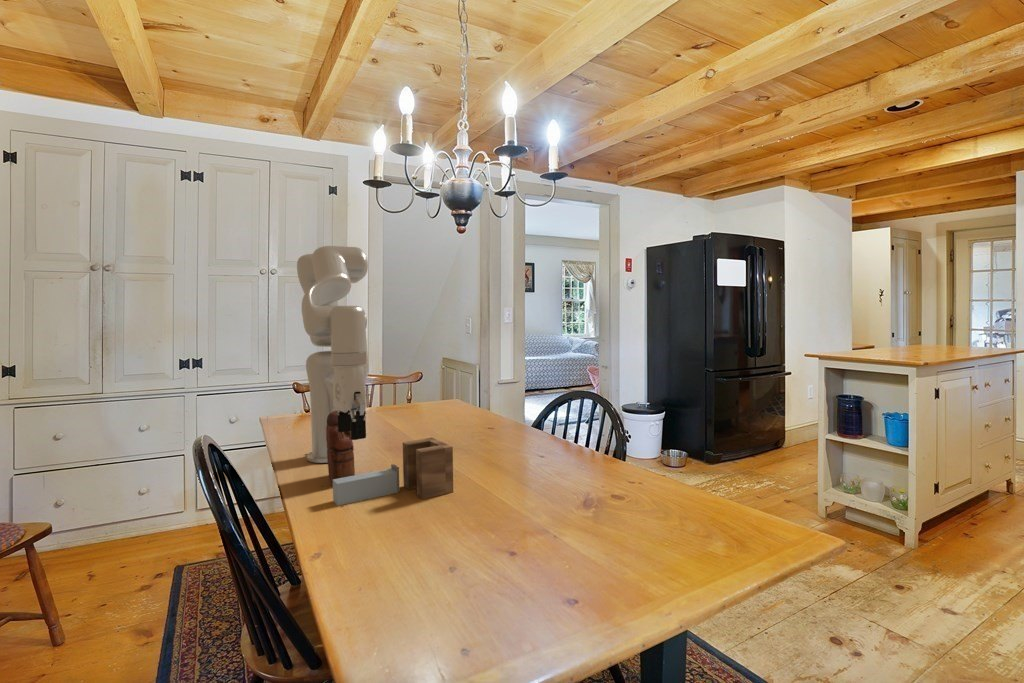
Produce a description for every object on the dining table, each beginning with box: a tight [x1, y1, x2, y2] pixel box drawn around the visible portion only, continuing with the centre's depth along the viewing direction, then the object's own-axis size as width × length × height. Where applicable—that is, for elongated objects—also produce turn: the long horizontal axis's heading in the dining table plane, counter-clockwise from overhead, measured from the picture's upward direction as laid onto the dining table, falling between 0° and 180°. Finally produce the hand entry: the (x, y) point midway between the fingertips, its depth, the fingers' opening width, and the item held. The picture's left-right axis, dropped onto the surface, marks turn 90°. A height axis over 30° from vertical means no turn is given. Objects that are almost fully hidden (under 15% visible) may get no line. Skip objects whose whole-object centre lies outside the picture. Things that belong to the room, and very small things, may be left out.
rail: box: [332, 463, 400, 507], centre depth 120 cm, size 4×15×6 cm, turn 125°
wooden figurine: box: [326, 410, 356, 485], centre depth 132 cm, size 12×6×18 cm, turn 25°
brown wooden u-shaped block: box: [402, 437, 454, 500], centre depth 125 cm, size 11×8×11 cm
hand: (351, 435), depth 117 cm, fingers open, 9 cm apart
